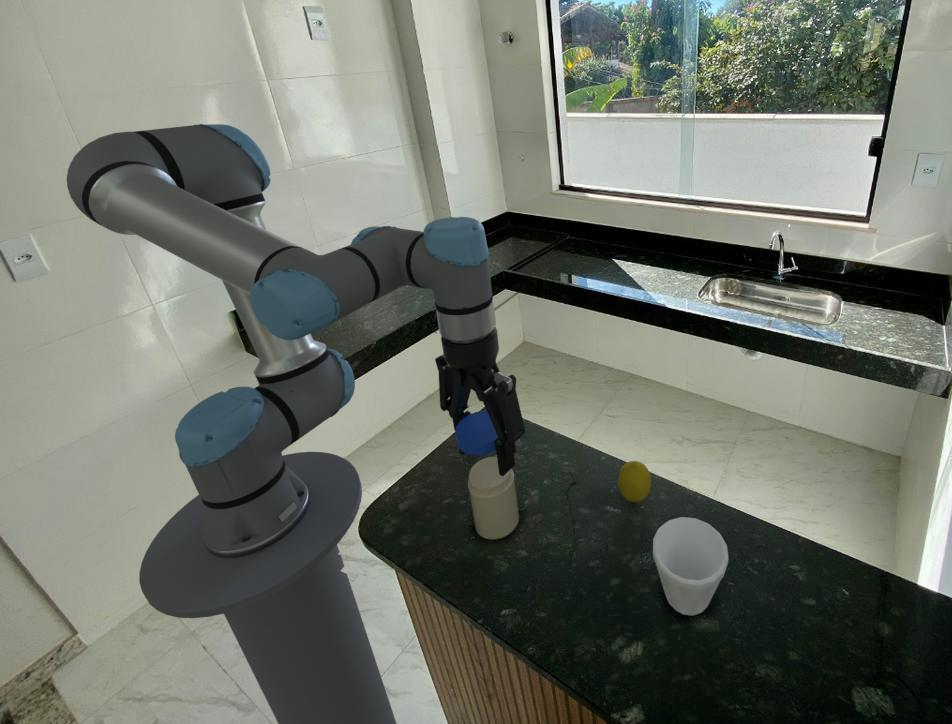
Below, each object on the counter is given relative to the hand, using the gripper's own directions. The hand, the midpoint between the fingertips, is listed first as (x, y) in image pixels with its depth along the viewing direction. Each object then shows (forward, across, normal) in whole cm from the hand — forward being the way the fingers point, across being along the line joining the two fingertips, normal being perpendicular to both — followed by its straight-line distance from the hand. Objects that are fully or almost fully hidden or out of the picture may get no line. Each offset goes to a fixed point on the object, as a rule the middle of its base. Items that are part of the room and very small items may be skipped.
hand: (486, 458), depth 75 cm
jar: (+13, 0, 0) cm, 13 cm away
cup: (+13, -32, -5) cm, 35 cm away
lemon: (+13, -18, -15) cm, 27 cm away
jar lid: (-6, 0, 0) cm, 6 cm away
